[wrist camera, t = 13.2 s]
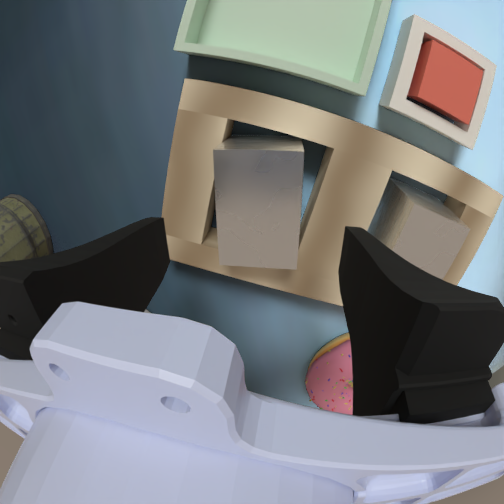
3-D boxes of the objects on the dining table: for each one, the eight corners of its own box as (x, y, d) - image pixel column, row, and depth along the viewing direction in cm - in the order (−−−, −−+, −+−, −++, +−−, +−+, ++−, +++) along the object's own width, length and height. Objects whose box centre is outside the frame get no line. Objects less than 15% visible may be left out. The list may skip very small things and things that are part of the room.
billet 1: (300, 136, 17) (304, 151, 13) (296, 227, 20) (296, 269, 16) (233, 134, 17) (212, 149, 13) (235, 224, 20) (219, 264, 16)
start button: (466, 71, 12) (483, 71, 11) (452, 120, 14) (468, 124, 12) (419, 43, 12) (432, 39, 10) (404, 95, 14) (417, 96, 12)
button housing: (480, 65, 12) (496, 65, 10) (457, 143, 15) (472, 150, 13) (402, 20, 12) (414, 14, 10) (378, 104, 15) (388, 106, 13)
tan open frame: (484, 183, 16) (503, 195, 14) (419, 305, 22) (429, 326, 19) (198, 79, 16) (184, 78, 13) (170, 237, 21) (157, 255, 19)
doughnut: (295, 328, 24) (295, 367, 21) (424, 305, 22) (440, 341, 18) (312, 398, 29) (311, 431, 26) (412, 381, 27) (419, 413, 23)
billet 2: (435, 196, 17) (470, 229, 13) (399, 269, 20) (420, 314, 16) (386, 175, 17) (414, 204, 13) (352, 254, 20) (365, 300, 16)
